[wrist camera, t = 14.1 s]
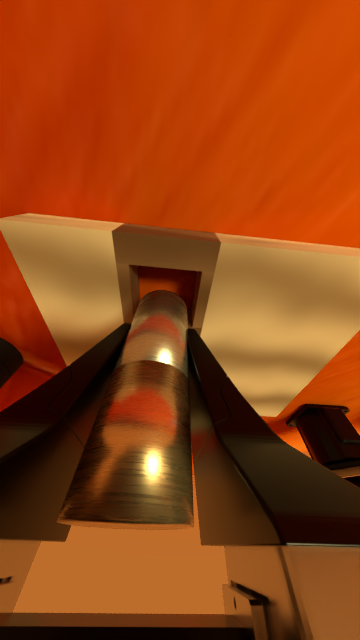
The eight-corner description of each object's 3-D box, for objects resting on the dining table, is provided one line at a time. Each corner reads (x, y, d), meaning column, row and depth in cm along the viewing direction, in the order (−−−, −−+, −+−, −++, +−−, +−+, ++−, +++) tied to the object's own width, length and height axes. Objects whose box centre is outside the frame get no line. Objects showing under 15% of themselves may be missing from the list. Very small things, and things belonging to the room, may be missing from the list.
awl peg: (186, 330, 12) (190, 530, 5) (141, 330, 12) (83, 527, 5) (188, 290, 10) (198, 520, 3) (135, 289, 10) (27, 516, 3)
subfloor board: (268, 397, 24) (276, 416, 22) (94, 386, 23) (86, 405, 21) (383, 251, 12) (422, 263, 10) (28, 213, 11) (-5, 219, 9)
